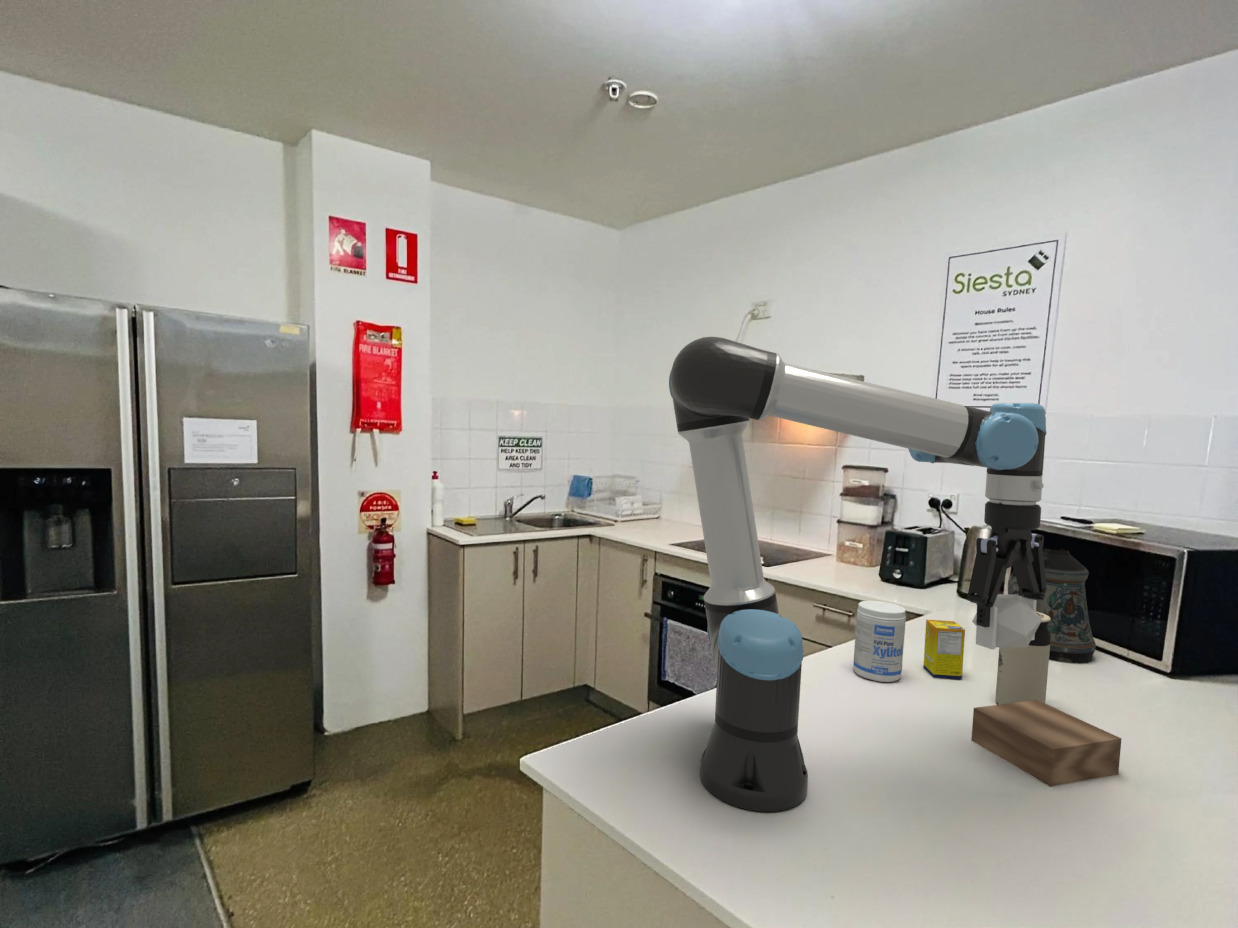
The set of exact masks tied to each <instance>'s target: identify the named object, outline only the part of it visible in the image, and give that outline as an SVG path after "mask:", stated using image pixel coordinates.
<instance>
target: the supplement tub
mask: <svg viewBox="0 0 1238 928" xmlns="http://www.w3.org/2000/svg"><path fill="white" fill-rule="evenodd" d="M857 605H858V606H857V612H856V623H855V633H854V634H855V636H854V650H853V664H852V667H853V671H854V672H855V673H856V674H857V675H858V676H860V677H862V678H863V679H864V678H865V679H868V680H871V681H876V682H880V683H881V682H882V683H891V682H896V681H898V680H900V679H901V677H902V671H903V656H904V647H905V634H906V620H907V619H906V618H907V615H906V609H905V607H903V606H901V605H898V604H894V603H891V602H885V601H880V600H864V601H860V602H859V603H858V604H857Z"/></svg>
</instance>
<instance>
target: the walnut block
mask: <svg viewBox="0 0 1238 928" xmlns="http://www.w3.org/2000/svg"><path fill="white" fill-rule="evenodd" d="M972 716H973V717H972V725H971V726H972V727H971V742H973V743H974V744H976V745H978V746H979V747H981V748H983V749H985V750H986V751H988V752H989V753H991V754H992V755H995V756H996V757H999V758H1000V759H1002V760H1003V761H1005V762H1006V763H1008V764H1010V765H1012V766H1013V767H1016V768H1018V769H1019V770H1021V771H1022V772H1024V773H1025V774H1028V775H1029V776H1031V777H1033V778H1035V779H1036V780H1038V781H1039V782H1041V783H1043V784H1045V785H1047V786H1048V787H1055V786H1061V785H1067V784H1068V785H1069V784H1073V783H1077V782H1078V783H1079V782H1085V781H1090V780H1096V779H1100V778H1107V777H1113V776H1117V775H1119V773H1120V760H1121V749H1122V737H1120V736H1118V735H1115V734H1113V733H1111V732H1108V731H1106V730H1104V729H1103V728H1099V727H1097V726H1095V725H1093V724H1090V723H1088V721H1087V722H1086V721H1084V720H1081V719H1080V718H1077V717H1075V716H1074V715H1071V714H1069V713H1067V712H1065V711H1063V710H1060V709H1058V708H1056V707H1053V706H1051V705H1049V704H1047V703H1046V702H1045V703H1043V702H1041V701H1038V700H1032V701H1024V702H1016V703H1008V704H1000V705H999V704H993V705H986V706H985V705H984V706H978V707H973V714H972Z"/></svg>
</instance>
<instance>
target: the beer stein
mask: <svg viewBox="0 0 1238 928" xmlns="http://www.w3.org/2000/svg"><path fill="white" fill-rule="evenodd" d="M1043 557H1044V567H1045V577H1046V587H1047V591H1046V593H1045V598H1044V600H1039V599H1037V602H1036V612H1040V613H1043V614H1045V615H1047V616H1049V617H1050V619H1051V620H1050V621H1049V622H1048V625H1047V629H1048V631H1049V633H1050V635H1051V639H1050V652H1049V661H1053V662H1057V663H1058V662H1059V663H1066V664H1087V663H1090V662H1092V661H1093V655H1094V653H1095V651H1096V647H1097V645H1096V642H1095V639H1094V636H1093V631H1092V628H1091V625H1090V618H1089V611H1088V605H1087V601H1088V600H1087V596H1086V595H1087V592H1086V581H1087V579H1088V577H1089V574H1090V572H1089V570H1088V569H1087V567H1086V566H1084V565H1083V564H1081V562H1079V560H1077V559H1076V558H1075V557H1073V555H1071V553H1070V550H1069V549H1065V548H1062V547H1051V546H1050V547H1045V548H1043ZM1037 585H1039V583H1037ZM1007 592H1008V593H1007V595H1018V596H1022V597H1023V595H1021V593H1020V590H1019V586H1018V583H1017V579H1016V576H1015V572H1014V569H1013V570H1012V572H1011V575H1010V576H1009V578H1008V581H1007ZM1041 594H1043V593H1041Z"/></svg>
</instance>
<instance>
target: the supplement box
mask: <svg viewBox="0 0 1238 928" xmlns="http://www.w3.org/2000/svg"><path fill="white" fill-rule="evenodd" d="M924 636H925V637H924V648H923V649H924V652H923V653H924V654H923V666H922V667H923V669H924V670H925V671H926V673H928V674H929V675H930V676H931V677H932V678H935V679H936V678H938V679H951V680H952V679H953V680H962V679H963V669H964V668H963V667H964V653H965V652H964V651H965V637H966V629H965V628H964V627H963V626H961V625H960V624H958V623H957V622H956V621H955V620H941V619H926V621H925V634H924Z"/></svg>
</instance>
